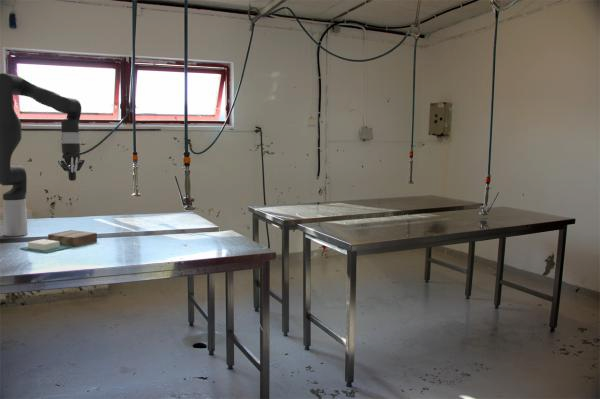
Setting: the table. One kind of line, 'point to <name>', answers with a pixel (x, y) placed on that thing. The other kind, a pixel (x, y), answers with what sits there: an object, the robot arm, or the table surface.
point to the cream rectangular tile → (43, 244)
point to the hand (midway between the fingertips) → (72, 180)
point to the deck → (73, 237)
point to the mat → (49, 249)
